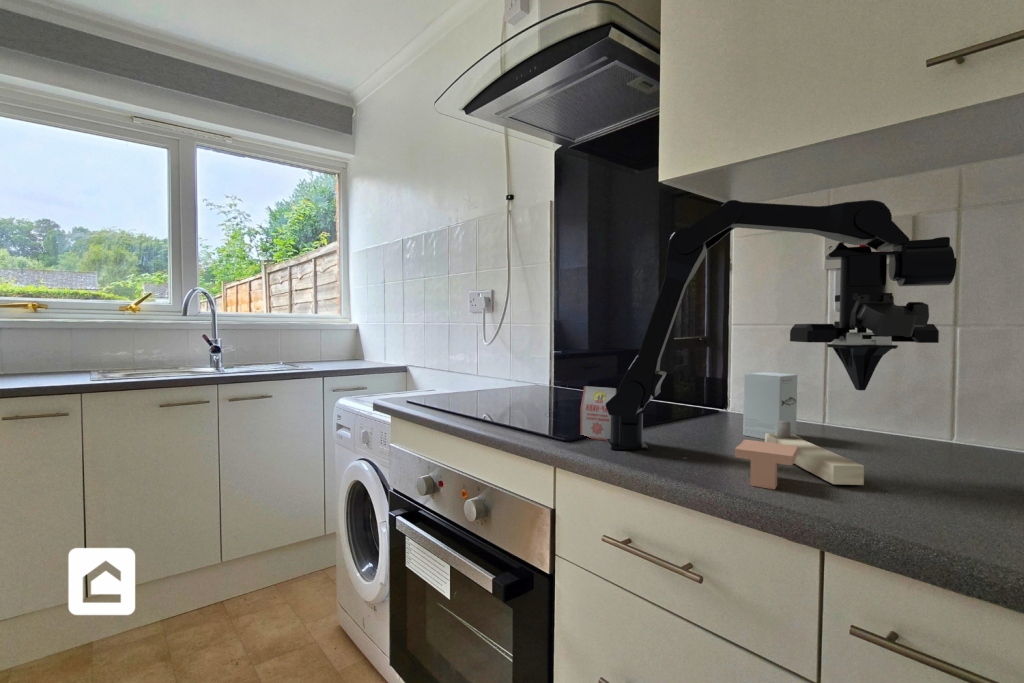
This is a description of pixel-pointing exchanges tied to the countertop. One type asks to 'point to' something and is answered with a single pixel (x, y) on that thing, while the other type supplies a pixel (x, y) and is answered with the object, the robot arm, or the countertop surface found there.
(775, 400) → the supplement box
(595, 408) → the white printed box
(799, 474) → the countertop surface
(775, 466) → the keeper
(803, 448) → the link
